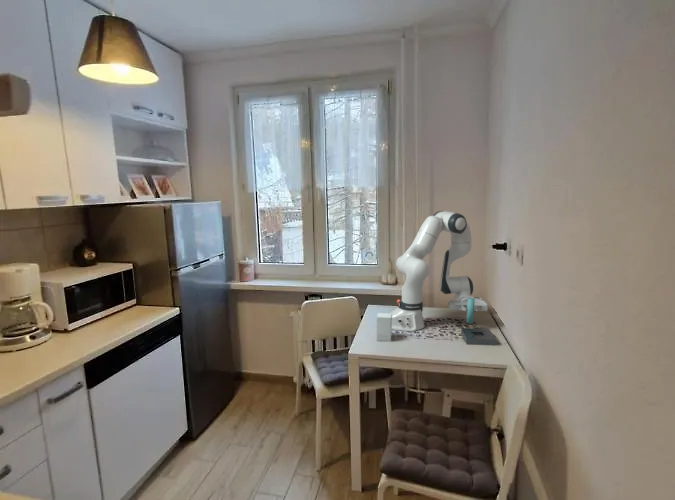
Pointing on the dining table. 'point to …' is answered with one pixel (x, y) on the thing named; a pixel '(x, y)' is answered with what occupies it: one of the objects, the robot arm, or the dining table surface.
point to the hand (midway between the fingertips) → (470, 310)
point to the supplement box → (384, 326)
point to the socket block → (478, 336)
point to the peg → (470, 310)
